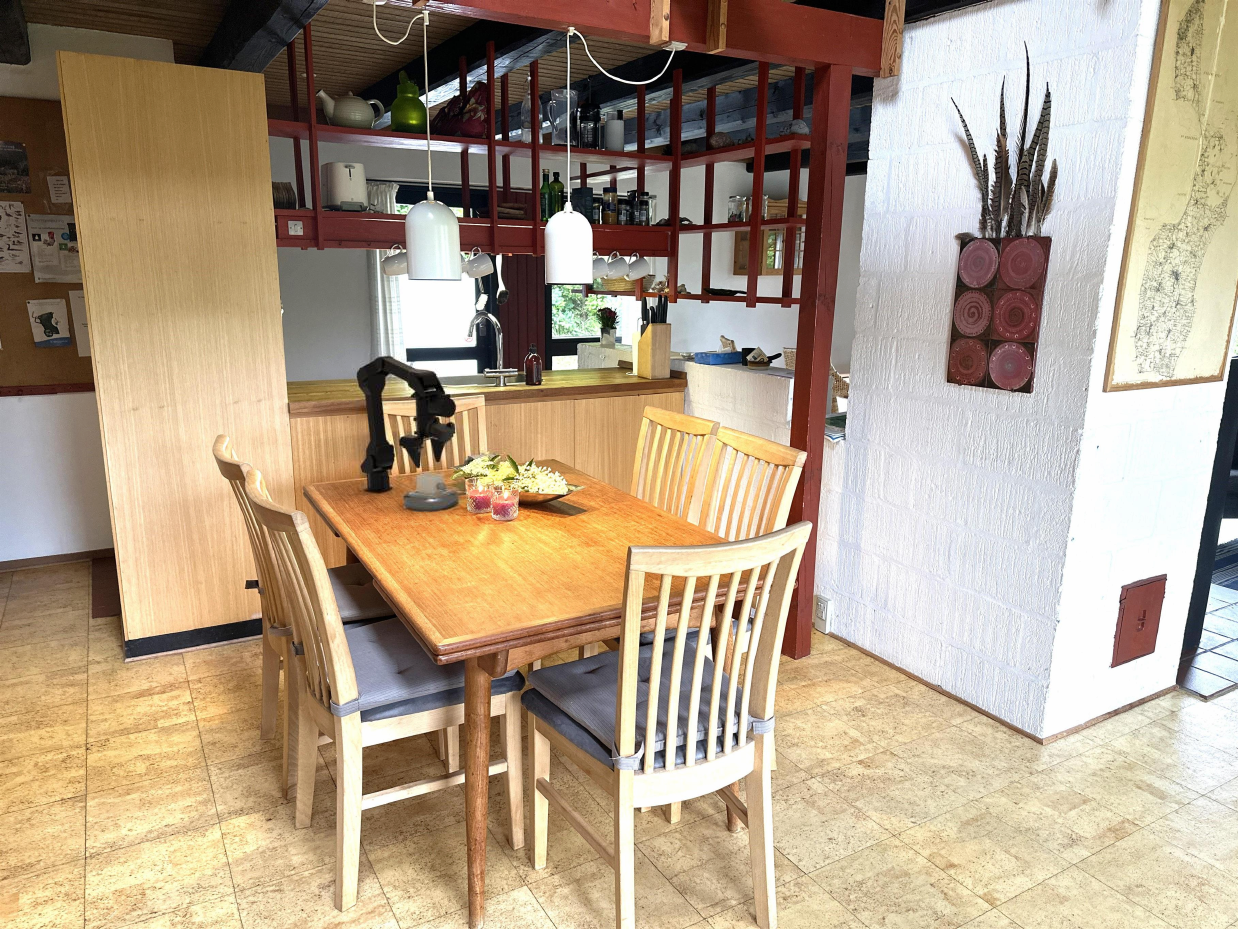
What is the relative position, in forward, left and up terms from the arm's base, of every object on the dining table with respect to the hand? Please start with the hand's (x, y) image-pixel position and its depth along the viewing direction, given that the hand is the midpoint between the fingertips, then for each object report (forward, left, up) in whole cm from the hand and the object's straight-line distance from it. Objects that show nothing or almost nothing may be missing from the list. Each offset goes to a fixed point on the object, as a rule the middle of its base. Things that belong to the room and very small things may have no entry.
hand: (428, 465), depth 255 cm
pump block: (+2, -1, -9) cm, 9 cm away
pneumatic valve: (+6, +21, -12) cm, 25 cm away
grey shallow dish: (+2, -1, -12) cm, 12 cm away
